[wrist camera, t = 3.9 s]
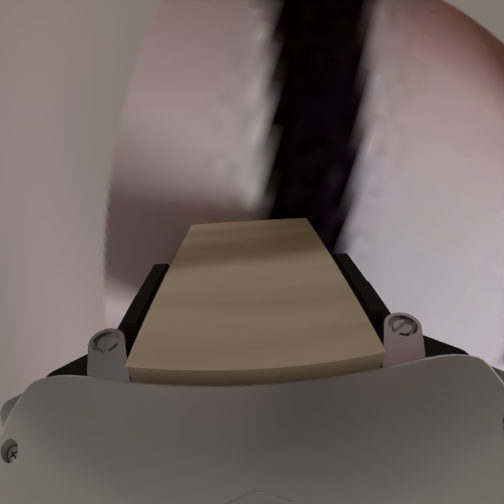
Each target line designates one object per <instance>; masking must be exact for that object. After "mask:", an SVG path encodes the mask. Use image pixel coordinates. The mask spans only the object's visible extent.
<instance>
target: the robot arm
mask: <svg viewBox="0 0 504 504" xmlns="http://www.w3.org/2000/svg"><path fill="white" fill-rule="evenodd" d="M332 259H333V260H334V262H335V263H336V265H337V267H338V268H339V270H340V271H341V273H342V275H343V276H344V278H345V280H346V281H347V283H348V285H349V286H350V288H351V290H352V291H353V293H354V295H355V296H356V298H357V300H358V302H359V303H360V305H361V307H362V309H363V310H364V312H365V314H366V316H367V317H368V319H369V321H370V323H371V324H372V326H373V328H374V330H375V332H376V334H377V335H378V337H379V339H380V341H381V343H382V345H383V346H384V348H385V350H386V354H385V357H384V360H383V362H382V365H381V367H380V368H378V369H373V370H368V371H363V372H357V373H352V374H346V375H340V376H333V377H326V378H319V379H311V380H302V381H292V382H281V383H268V384H250V385H175V384H158V383H146V382H135V381H132V379H131V377H130V376H129V374H128V372H127V370H126V368H125V364H126V361H127V359H128V357H129V354H130V352H131V349H132V347H133V345H134V342H135V340H136V338H137V336H138V333H139V331H140V329H141V327H142V324H143V322H144V320H145V318H146V315H147V313H148V311H149V309H150V307H151V305H152V302H153V300H154V298H155V296H156V294H157V292H158V290H159V288H160V286H161V284H162V282H163V280H164V278H165V276H166V273H167V271H168V269H169V265H168V264H155V265H154V267H153V268H152V270H151V272H150V273H149V275H148V277H147V278H146V280H145V282H144V283H143V285H142V287H141V289H140V290H139V292H138V294H137V295H136V296H135V298H134V300H133V302H132V303H131V305H130V307H129V309H128V310H127V312H126V314H125V316H124V318H123V320H122V321H121V323H120V325H119V327H118V329H105V330H103V331H100V332H98V333H97V334H95V335H94V336H93V337H92V338H91V340H90V341H89V345H88V354H87V355H85V356H83V357H81V358H79V359H77V360H75V361H73V362H71V363H69V364H67V365H65V366H63V367H61V368H59V369H57V370H55V371H53V372H51V373H50V374H49V375H48V376H47V377H46V378H42V379H39V380H37V381H35V382H33V383H32V384H30V385H29V386H28V387H27V388H26V389H25V391H24V392H23V393H22V394H20V395H18V396H16V397H14V398H12V399H11V400H8V401H7V402H6V403H5V404H4V405H3V406H2V409H1V412H0V414H1V415H0V416H1V422H2V427H3V428H2V431H1V433H0V504H504V371H502V370H499V369H496V368H494V367H491V366H490V365H489V364H487V363H486V362H485V361H484V360H482V359H480V358H478V357H475V356H470V355H469V354H468V353H466V352H465V351H463V350H461V349H459V348H456V347H454V346H451V345H448V344H446V343H443V342H440V341H437V340H435V339H432V338H429V337H427V336H424V335H423V333H422V327H421V324H420V322H419V321H418V320H417V319H416V318H415V317H413V316H411V315H409V314H406V313H392V314H391V313H390V312H389V310H388V309H387V307H386V306H385V304H384V303H383V301H382V300H381V298H380V297H379V296H378V294H377V293H376V291H375V290H374V288H373V287H372V286H371V284H370V283H369V282H368V281H367V280H366V279H365V278H364V276H363V275H362V273H361V272H360V271H359V269H358V268H357V267H356V265H355V264H354V262H353V261H352V260H351V258H350V257H349V256H348V254H347V253H344V254H334V255H333V257H332Z"/></svg>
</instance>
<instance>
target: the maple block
mask: <svg viewBox="0 0 504 504" xmlns="http://www.w3.org/2000/svg"><path fill="white" fill-rule="evenodd" d="M385 354H386V350H385V348H384V346H383V345H382V343H381V341H380V339H379V337H378V335H377V334H376V332H375V330H374V328H373V326H372V324H371V323H370V321H369V319H368V317H367V316H366V314H365V312H364V310H363V309H362V307H361V305H360V303H359V302H358V300H357V298H356V296H355V295H354V293H353V291H352V290H351V288H350V286H349V285H348V283H347V281H346V280H345V278H344V276H343V275H342V273H341V271H340V270H339V268H338V267H337V265H336V263H335V262H334V260H333V259H332V257H331V255H330V254H329V252H328V251H327V249H326V248H325V246H324V244H323V243H322V241H321V240H320V238H319V237H318V235H317V234H316V232H315V231H314V229H313V228H312V226H311V225H310V223H309V222H308V220H307V219H306V218H296V219H275V220H257V221H240V222H224V223H210V224H196V225H191V227H190V229H189V231H188V233H187V235H186V237H185V238H184V240H183V242H182V244H181V246H180V248H179V250H178V252H177V254H176V256H175V258H174V260H173V262H172V264H171V265H170V267H169V269H168V271H167V273H166V276H165V278H164V280H163V282H162V284H161V286H160V288H159V290H158V292H157V294H156V296H155V298H154V300H153V302H152V305H151V307H150V309H149V311H148V313H147V315H146V318H145V320H144V322H143V324H142V327H141V329H140V331H139V333H138V336H137V338H136V340H135V342H134V345H133V347H132V349H131V352H130V354H129V357H128V359H127V361H126V364H125V368H126V370H127V372H128V374H129V376H130V377H131V379H132V381H135V382H146V383H158V384H175V385H250V384H268V383H281V382H292V381H302V380H311V379H319V378H326V377H333V376H340V375H346V374H352V373H357V372H363V371H368V370H373V369H378V368H380V367H381V365H382V362H383V360H384V357H385Z"/></svg>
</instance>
